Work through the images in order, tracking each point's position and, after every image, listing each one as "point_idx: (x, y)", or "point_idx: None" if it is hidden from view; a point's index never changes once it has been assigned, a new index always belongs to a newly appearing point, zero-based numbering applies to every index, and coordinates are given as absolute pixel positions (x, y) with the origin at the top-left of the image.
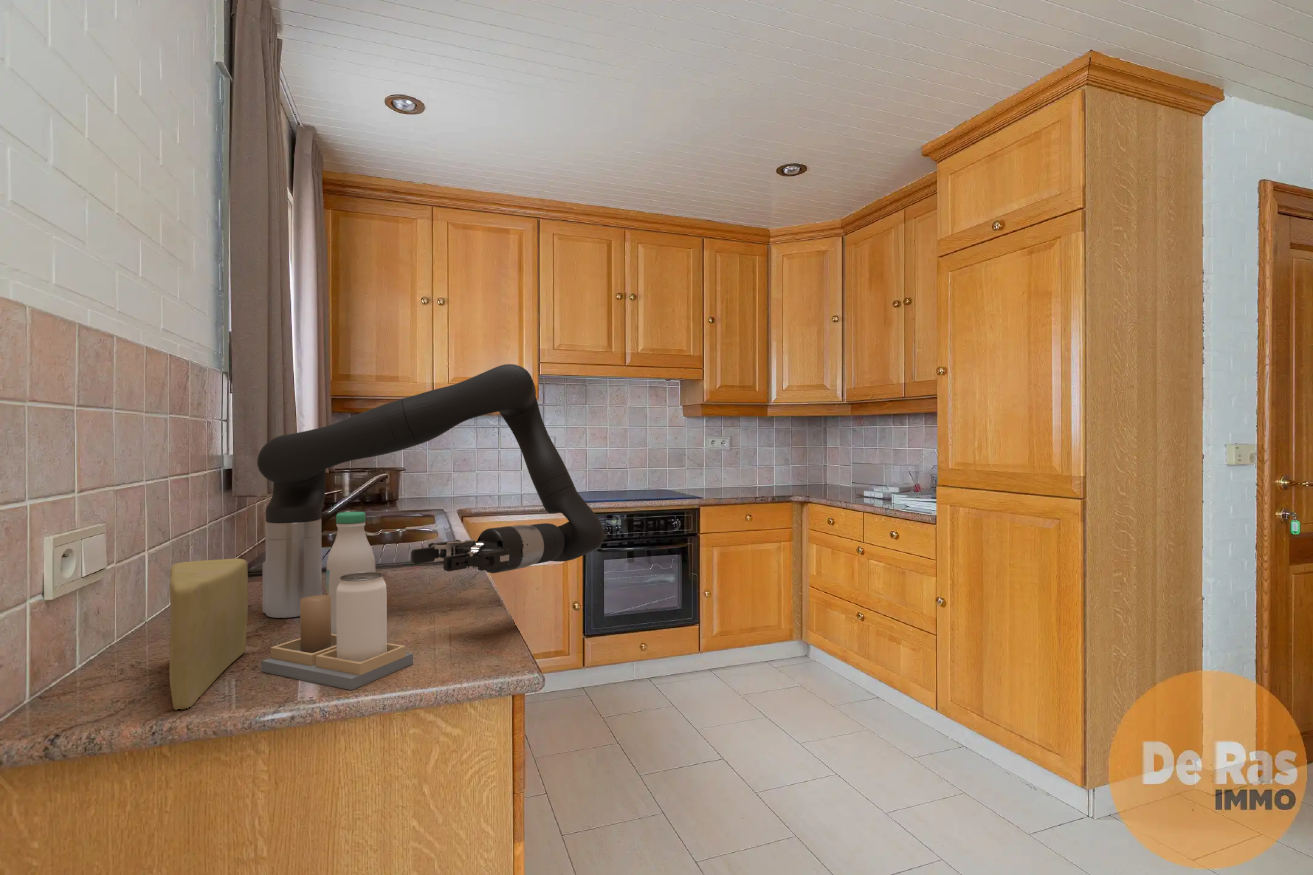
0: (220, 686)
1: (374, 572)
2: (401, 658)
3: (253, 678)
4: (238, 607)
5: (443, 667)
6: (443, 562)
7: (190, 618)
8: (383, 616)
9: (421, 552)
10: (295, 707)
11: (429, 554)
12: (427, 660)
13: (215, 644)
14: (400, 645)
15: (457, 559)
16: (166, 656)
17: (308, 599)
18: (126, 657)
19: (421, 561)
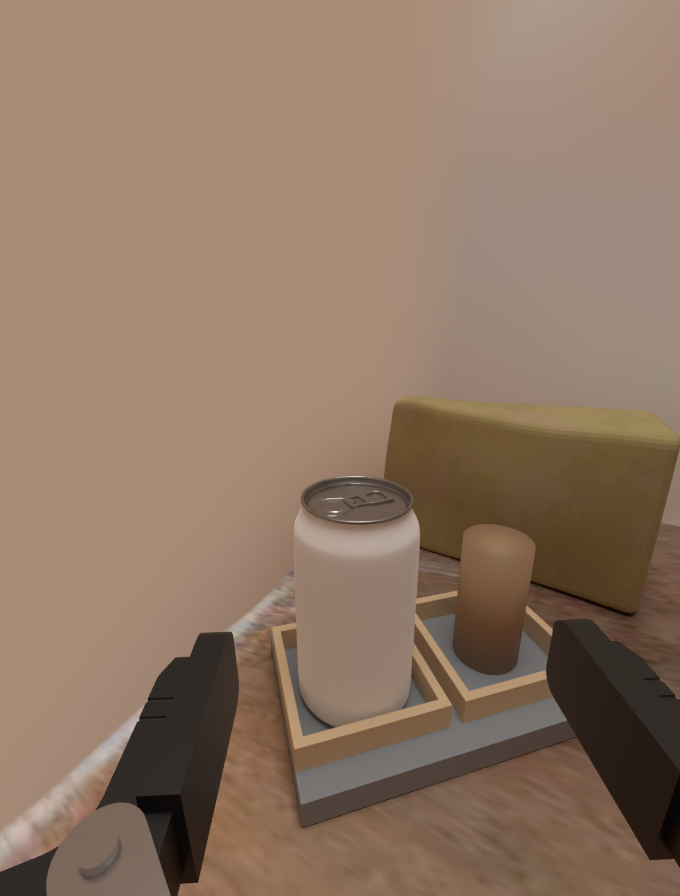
0: (446, 564)
1: (382, 519)
2: (292, 756)
3: (456, 590)
4: (569, 505)
5: (182, 886)
6: (234, 651)
7: (389, 437)
8: (302, 613)
9: (584, 674)
10: (283, 587)
11: (629, 762)
12: (291, 892)
13: (460, 510)
14: (312, 741)
15: (152, 695)
16: (652, 559)
17: (494, 532)
18: (663, 538)
19: (578, 727)
